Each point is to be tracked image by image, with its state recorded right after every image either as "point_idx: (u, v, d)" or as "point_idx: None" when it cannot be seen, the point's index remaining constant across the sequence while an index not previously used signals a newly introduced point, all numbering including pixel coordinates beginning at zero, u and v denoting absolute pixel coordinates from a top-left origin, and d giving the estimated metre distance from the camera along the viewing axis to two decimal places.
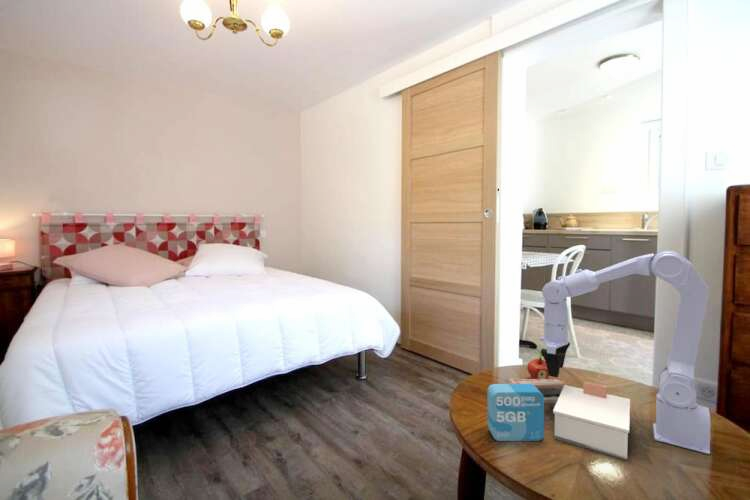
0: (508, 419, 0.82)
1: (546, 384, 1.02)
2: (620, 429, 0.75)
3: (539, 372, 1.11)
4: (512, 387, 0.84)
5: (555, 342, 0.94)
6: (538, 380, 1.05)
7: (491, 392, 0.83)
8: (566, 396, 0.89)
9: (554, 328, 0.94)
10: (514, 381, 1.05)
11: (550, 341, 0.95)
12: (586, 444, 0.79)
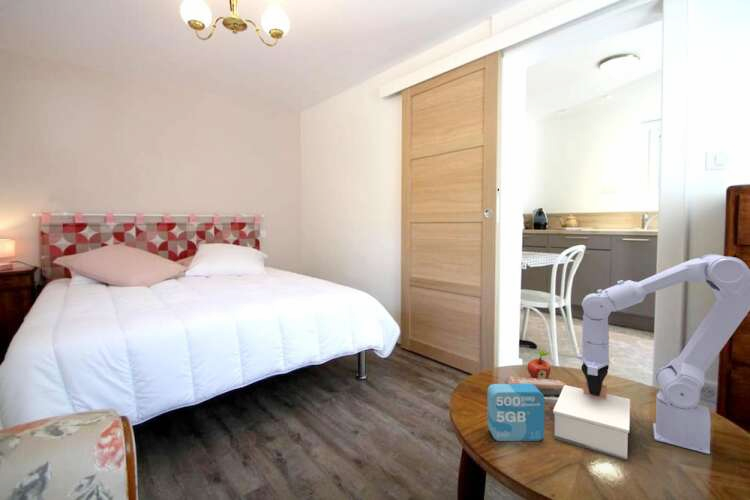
0: (508, 419, 0.82)
1: (545, 384, 1.03)
2: (620, 429, 0.75)
3: (539, 372, 1.11)
4: (512, 387, 0.84)
5: (595, 362, 0.86)
6: (539, 380, 1.06)
7: (491, 392, 0.83)
8: (566, 396, 0.89)
9: (594, 346, 0.87)
10: (513, 379, 1.07)
11: (590, 360, 0.87)
12: (586, 444, 0.79)
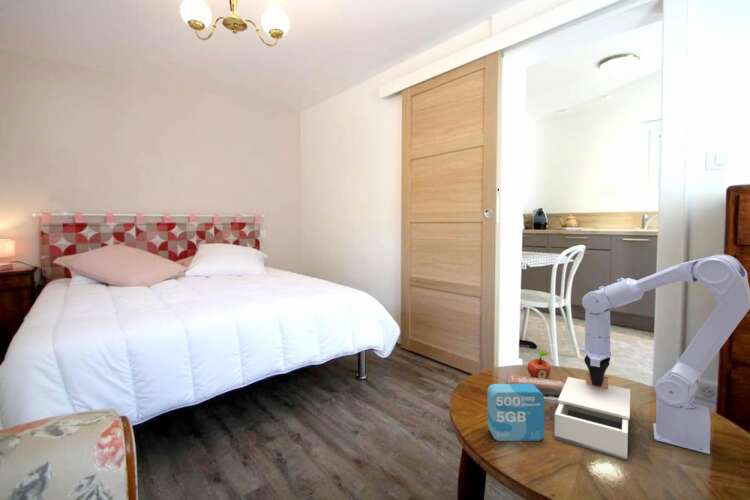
0: (508, 419, 0.82)
1: (544, 383, 1.03)
2: (621, 415, 0.80)
3: (539, 372, 1.11)
4: (512, 387, 0.84)
5: (598, 354, 0.92)
6: (539, 379, 1.06)
7: (491, 392, 0.83)
8: (570, 386, 0.95)
9: (596, 340, 0.92)
10: (513, 377, 1.08)
11: (592, 353, 0.92)
12: (586, 444, 0.79)
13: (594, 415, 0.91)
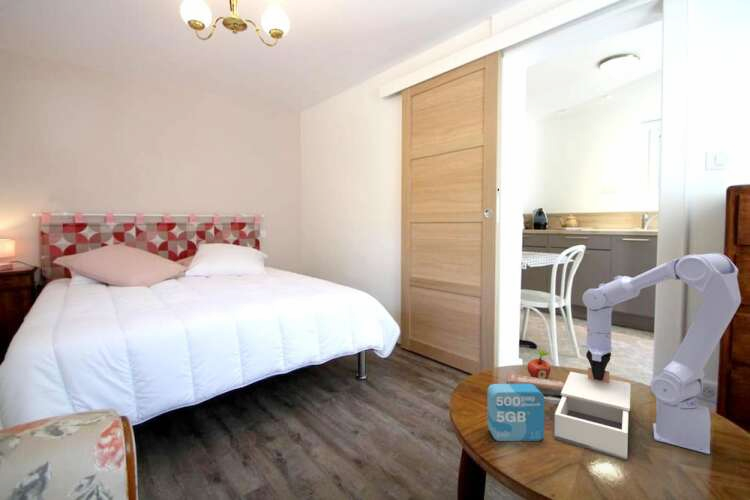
0: (508, 419, 0.82)
1: (544, 383, 1.03)
2: (622, 407, 0.83)
3: (539, 372, 1.11)
4: (512, 387, 0.84)
5: (599, 349, 0.95)
6: (540, 379, 1.06)
7: (491, 392, 0.83)
8: (572, 380, 0.98)
9: (598, 335, 0.95)
10: (513, 377, 1.08)
11: (594, 348, 0.96)
12: (586, 444, 0.79)
13: (594, 415, 0.91)
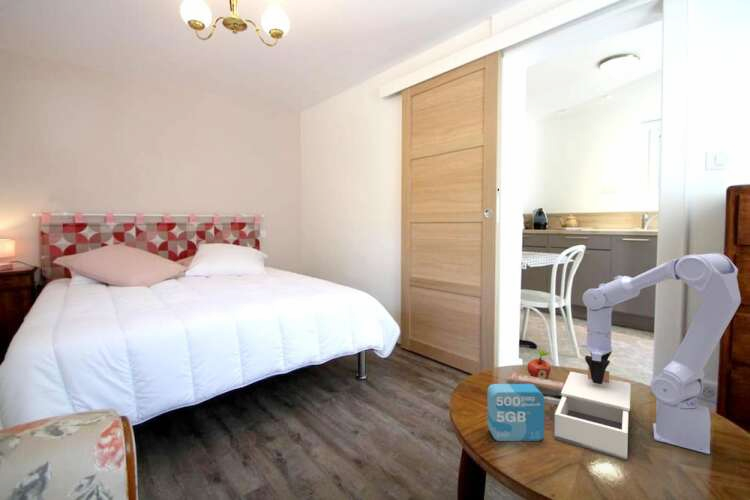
0: (508, 419, 0.82)
1: (543, 383, 1.03)
2: (622, 407, 0.83)
3: (539, 372, 1.11)
4: (512, 387, 0.84)
5: (599, 349, 0.95)
6: (541, 379, 1.06)
7: (491, 392, 0.83)
8: (572, 380, 0.98)
9: (598, 335, 0.95)
10: (514, 375, 1.09)
11: (594, 348, 0.96)
12: (586, 444, 0.79)
13: (594, 415, 0.91)
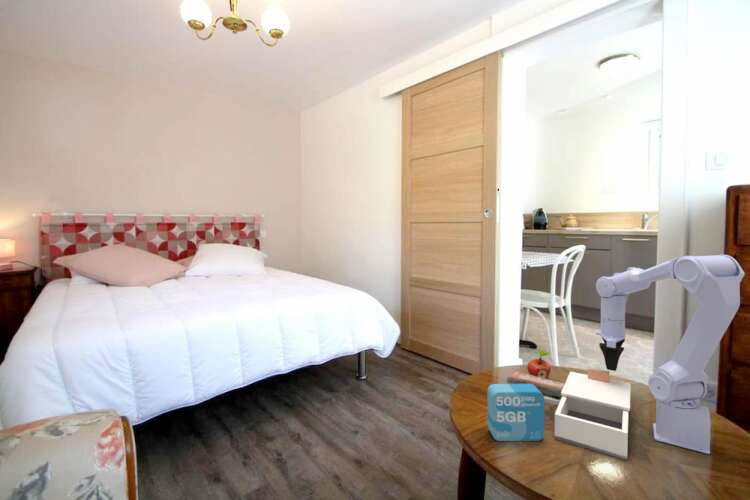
0: (508, 419, 0.82)
1: (543, 383, 1.03)
2: (622, 407, 0.83)
3: (539, 372, 1.11)
4: (512, 387, 0.84)
5: (613, 336, 0.96)
6: (542, 379, 1.06)
7: (491, 392, 0.83)
8: (572, 380, 0.98)
9: (612, 323, 0.97)
10: (516, 373, 1.10)
11: (608, 335, 0.97)
12: (586, 444, 0.79)
13: (594, 415, 0.91)
